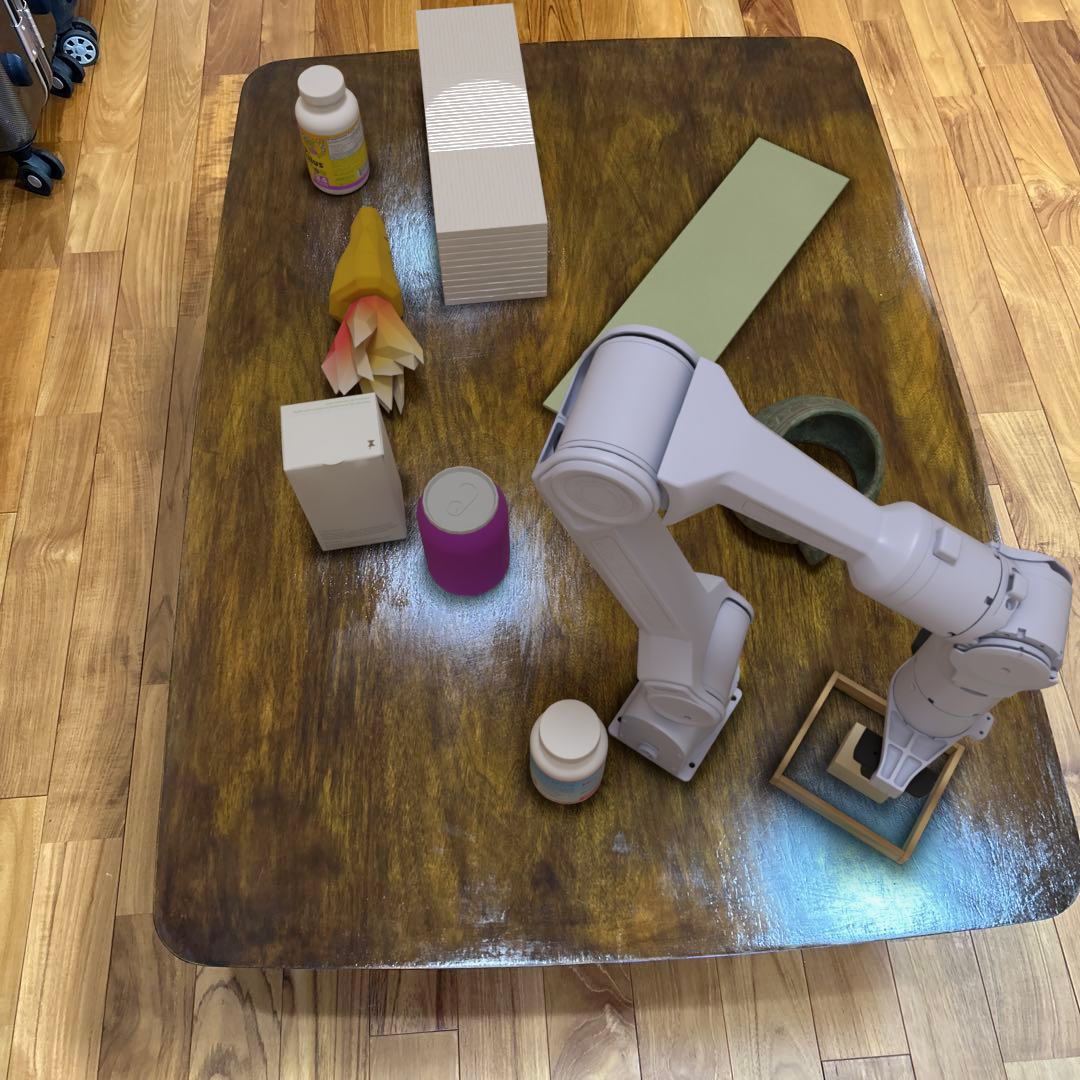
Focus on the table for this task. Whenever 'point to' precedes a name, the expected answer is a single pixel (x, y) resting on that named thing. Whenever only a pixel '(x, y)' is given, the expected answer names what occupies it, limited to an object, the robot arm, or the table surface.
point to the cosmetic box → (343, 471)
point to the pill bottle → (568, 752)
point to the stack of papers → (482, 155)
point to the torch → (369, 317)
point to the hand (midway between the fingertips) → (896, 736)
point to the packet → (853, 766)
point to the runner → (729, 252)
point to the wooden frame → (836, 815)
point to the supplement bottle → (331, 131)
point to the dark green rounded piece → (831, 429)
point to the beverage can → (464, 531)
